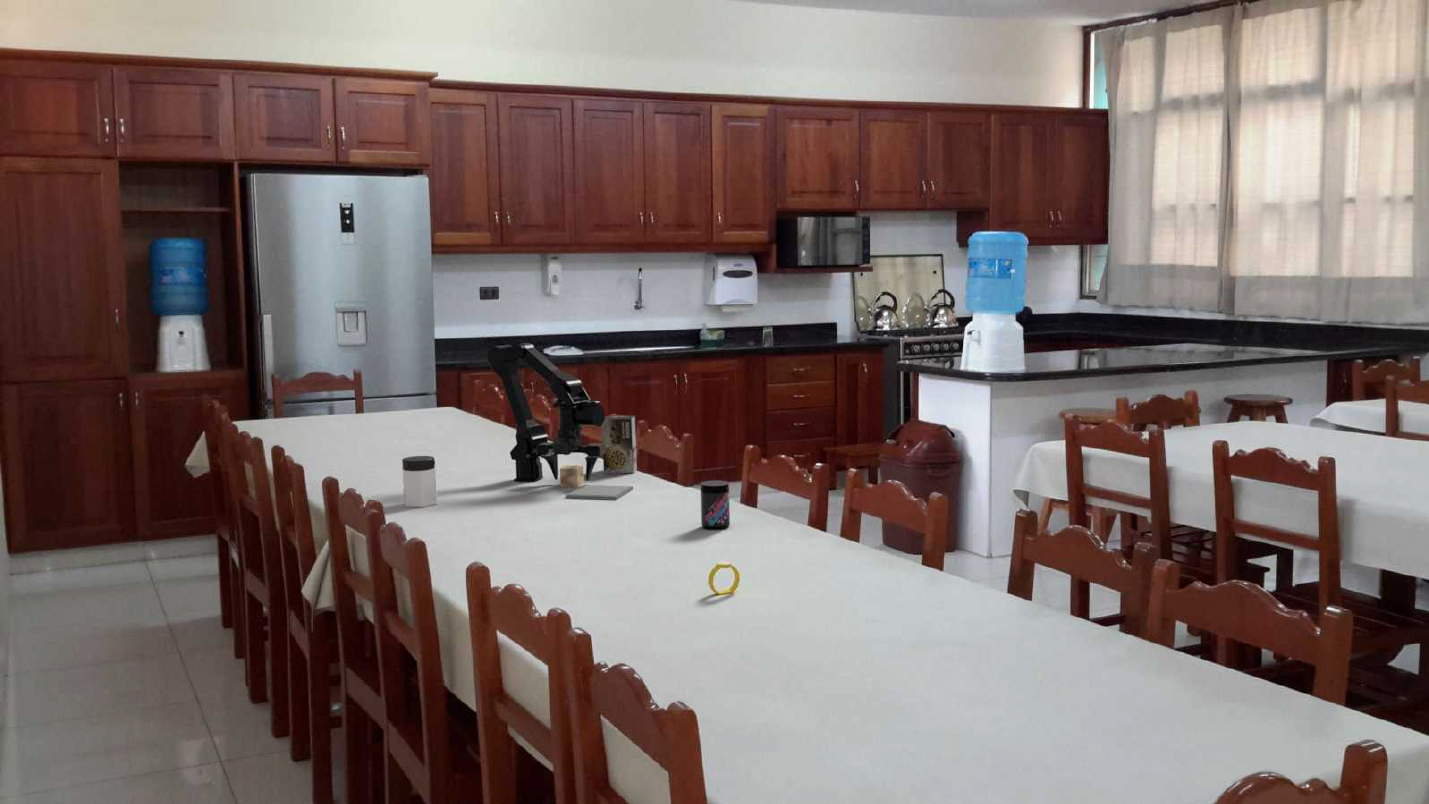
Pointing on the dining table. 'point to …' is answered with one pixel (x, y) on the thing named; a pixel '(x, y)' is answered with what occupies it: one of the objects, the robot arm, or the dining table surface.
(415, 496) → the jar
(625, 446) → the coffee box
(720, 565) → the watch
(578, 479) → the maple cube
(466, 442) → the dining table surface
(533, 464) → the robot arm
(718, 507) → the supplement container
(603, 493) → the mat
